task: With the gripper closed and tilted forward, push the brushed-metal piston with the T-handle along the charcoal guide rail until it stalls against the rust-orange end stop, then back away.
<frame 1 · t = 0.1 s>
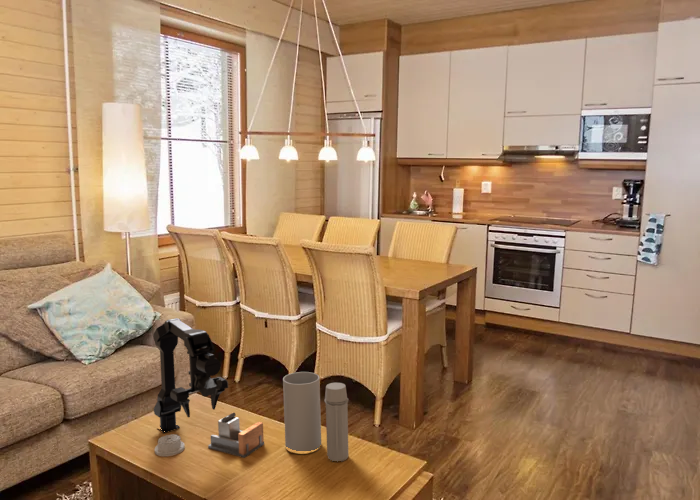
hand: (201, 413, 190), 15 cm above the table, tool pointing down, fingers open, 9 cm apart
mechanical component: (169, 450, 196), on the table
cylinder vase: (303, 447, 196), on the table
water bottle: (337, 459, 187), on the table
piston: (229, 428, 198), point 6 cm above the table, slide at 0.0 cm
piston housing: (236, 446, 197), on the table
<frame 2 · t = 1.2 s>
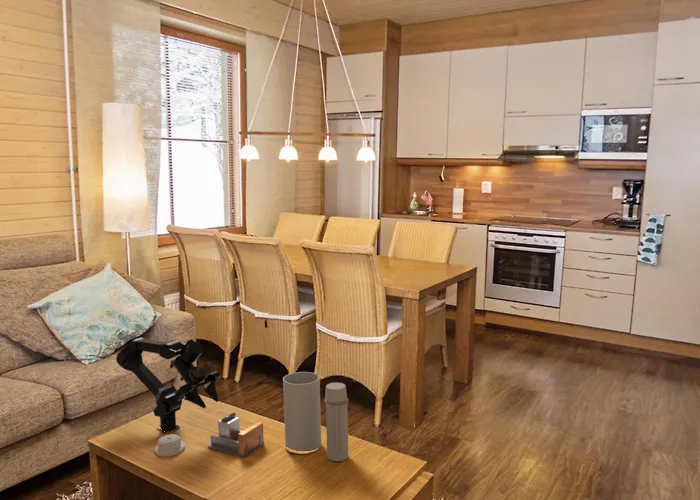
hand: (211, 404, 201), 13 cm above the table, tool tilted 45°, fingers open, 6 cm apart
nothing on the table moved.
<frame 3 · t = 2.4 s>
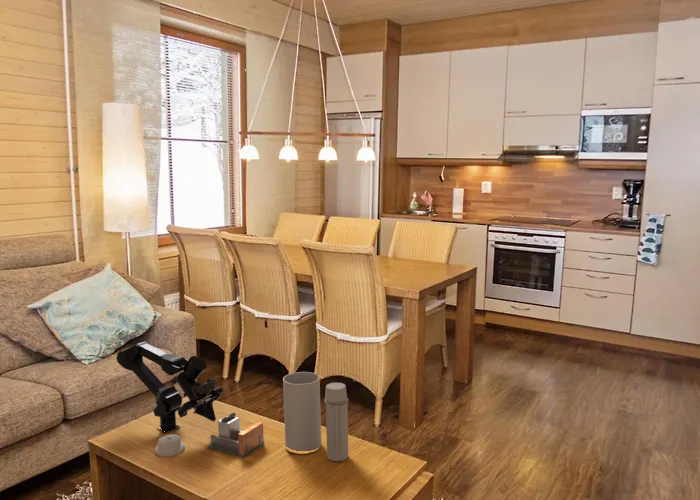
hand: (214, 420, 201), 8 cm above the table, tool tilted 45°, fingers closed
nothing on the table moved.
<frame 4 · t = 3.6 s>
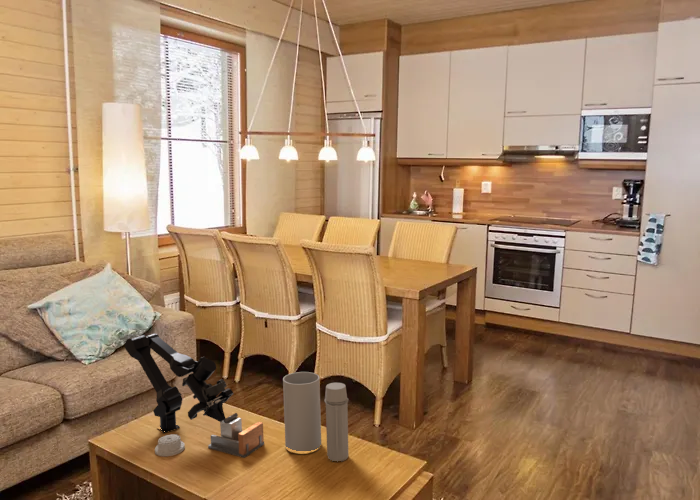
hand: (224, 422, 199), 8 cm above the table, tool tilted 45°, fingers closed, pressing on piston
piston: (231, 428, 198), point 6 cm above the table, slide at 1.0 cm, touching gripper
everything else where it was.
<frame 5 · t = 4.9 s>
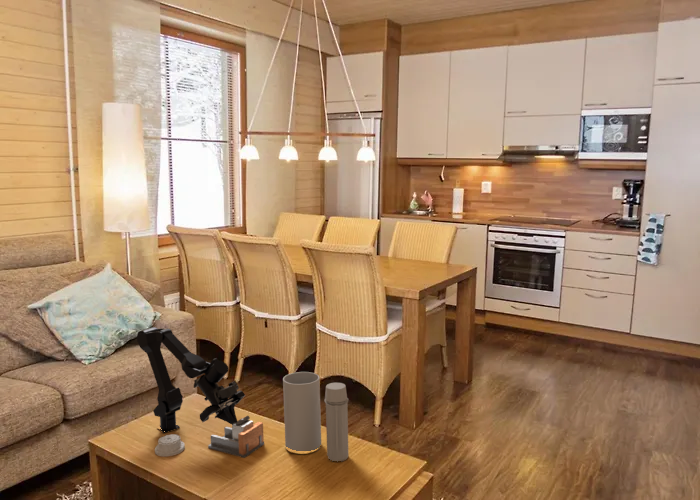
hand: (236, 425, 196), 8 cm above the table, tool tilted 45°, fingers closed, pressing on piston
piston: (243, 431, 195), point 6 cm above the table, slide at 6.3 cm, touching gripper, piston housing
everything else where it was.
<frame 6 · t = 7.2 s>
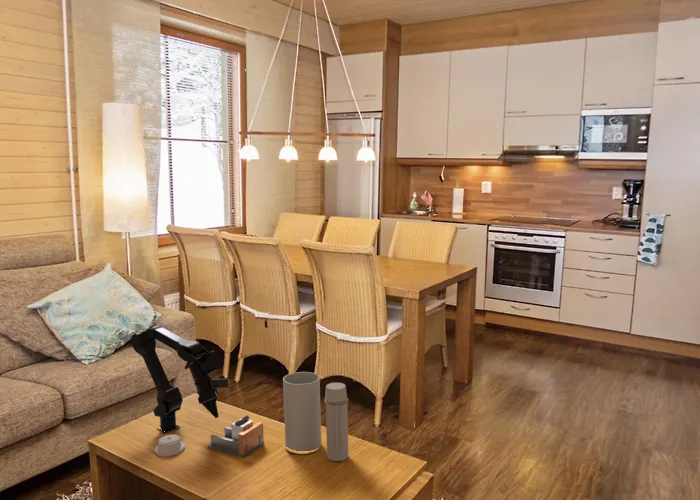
hand: (217, 417, 200), 9 cm above the table, tool tilted 25°, fingers closed
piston: (242, 431, 195), point 6 cm above the table, slide at 6.0 cm
everything else where it was.
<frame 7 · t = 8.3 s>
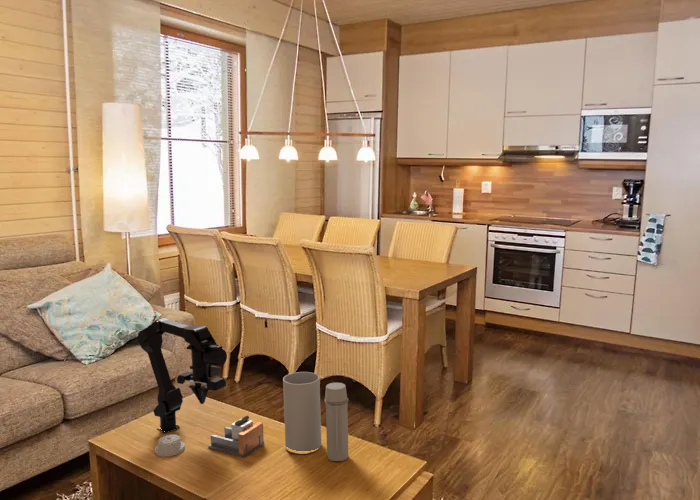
hand: (202, 403, 203), 13 cm above the table, tool pointing down, fingers closed
nothing on the table moved.
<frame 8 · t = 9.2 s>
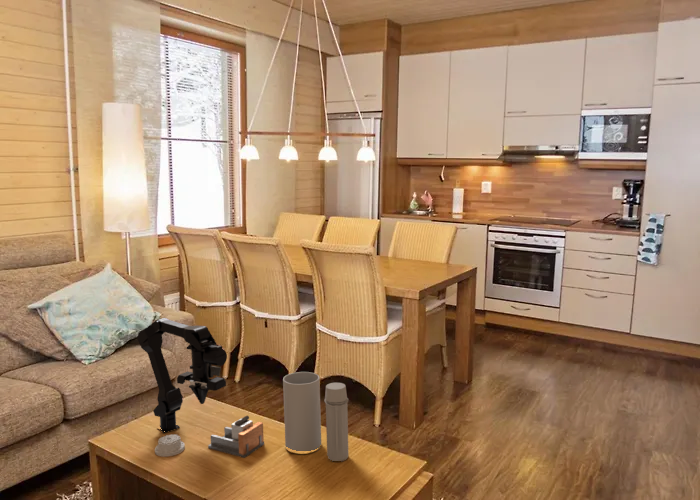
hand: (202, 403, 203), 13 cm above the table, tool pointing down, fingers closed
nothing on the table moved.
at the end: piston slide at 6.0 cm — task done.
